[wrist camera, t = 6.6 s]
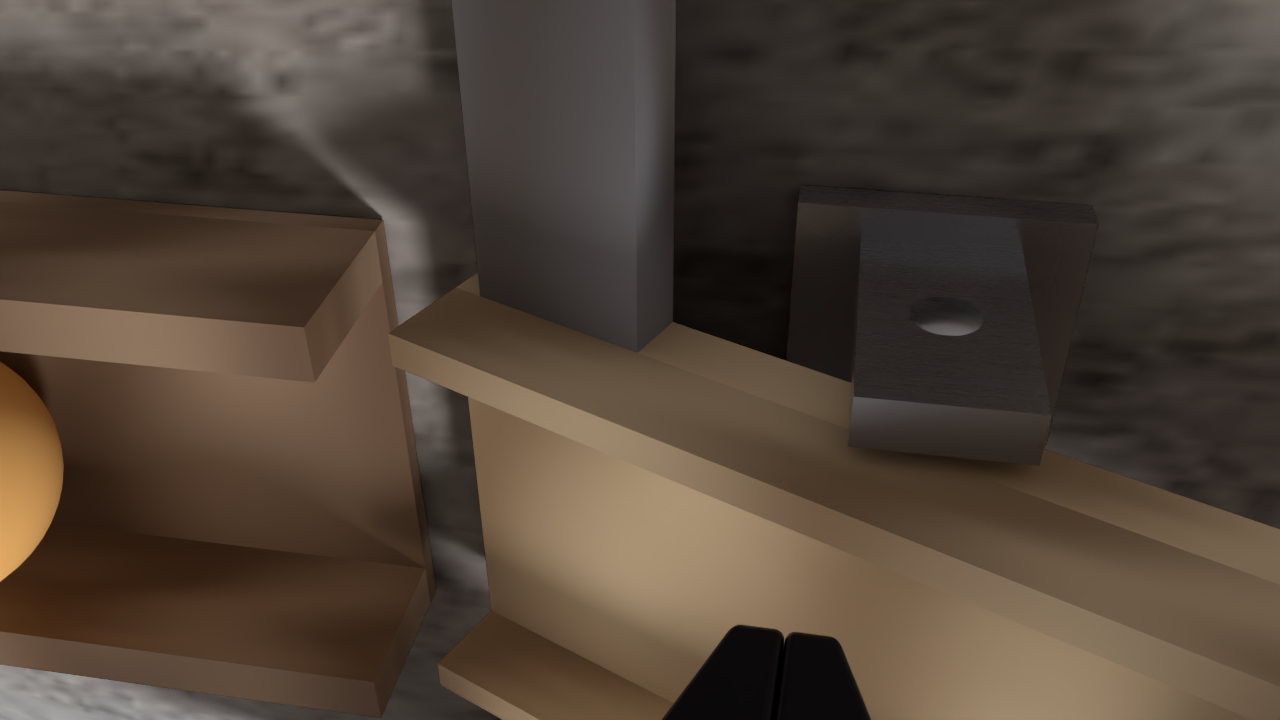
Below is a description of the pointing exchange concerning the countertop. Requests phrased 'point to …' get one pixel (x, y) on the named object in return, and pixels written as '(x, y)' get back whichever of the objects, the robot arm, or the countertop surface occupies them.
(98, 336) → the tray
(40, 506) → the ball
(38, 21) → the countertop surface
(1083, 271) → the stand
